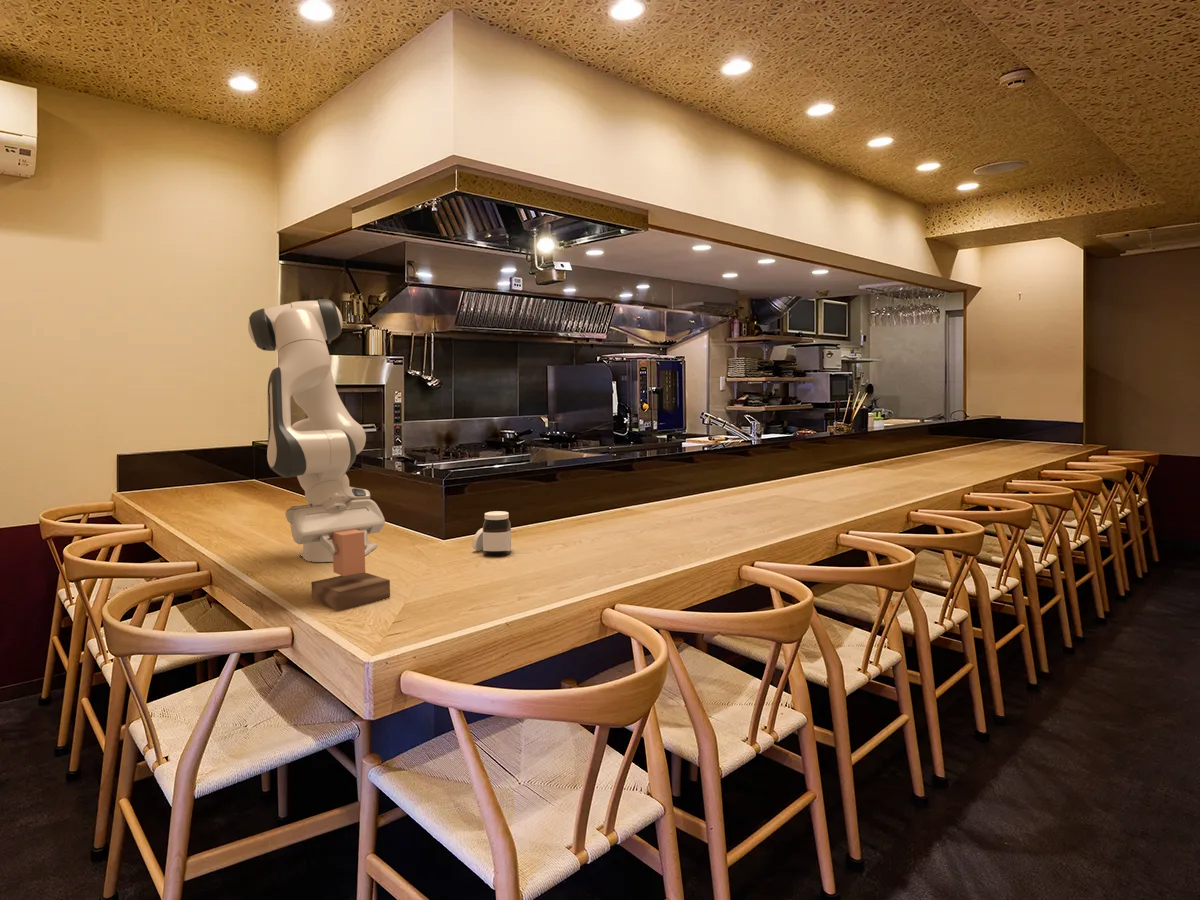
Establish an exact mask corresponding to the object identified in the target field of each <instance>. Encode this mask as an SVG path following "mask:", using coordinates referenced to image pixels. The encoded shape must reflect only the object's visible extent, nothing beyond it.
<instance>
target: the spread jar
mask: <svg viewBox="0 0 1200 900" xmlns="http://www.w3.org/2000/svg"><path fill="white" fill-rule="evenodd" d="M509 517H510V516H509V512H508V511H503V510H502V511H501V510H500V511H498V510H496V511H495V510H494V511H488V512H485V513H484V522H483V524H482V528H479V529H478V530H477V532H476V533H475V534H474V536H473V539H472V543H471V545H472V549H474V550H476V551H477V552H481V551H483V554H484V555H485V556H487V555H488V556H487V557H502V556H501V555H504V556H508V555H510V553H511V552H512V551H511V550H512V528H511V527H512V525H511V521H510V520H509ZM482 549H483V550H482ZM480 550H481V551H480ZM507 554H508V555H507Z"/></svg>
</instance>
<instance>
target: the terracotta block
mask: <svg viewBox="0 0 1200 900" xmlns="http://www.w3.org/2000/svg"><path fill="white" fill-rule="evenodd" d="M332 541H333V544H334V545H335V544H337V545H338V548H339V553H338V555H333V561H332V563H333V564H332V567H333V570H332V571H333V573H334V574H337V575H338V576H348V575H353V574H358V573H363V572H365V573H366V555H365V544H364V532H362V531H359V530H356V529H354V530H347V531H340V532H334V533H332Z"/></svg>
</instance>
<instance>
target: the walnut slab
mask: <svg viewBox="0 0 1200 900" xmlns="http://www.w3.org/2000/svg"><path fill="white" fill-rule="evenodd" d="M389 597H390V598H391V582H390V579H388V578H384V577H381V576H377V575H375V574H371V573H368V572H366V571H365V572H363V573H358V574H353V575H348V576H341V575H338V576H332V577H329V578H324V579H319V580H315V581H311V601H312V600H313V602H315V603H318V604H320V603H321V604H320V605H323V606H325V605H326V607H328V608H331V609H334V610H335V611H339V612H343V611H346V610H350V609H354V608H358V607H361V606H365V605H369V604H372V603H377V602H381V601H384V600H383V599H385V600H387V599H386V598H389ZM390 598H389V599H390ZM380 600H381V601H380ZM376 601H377V602H376Z"/></svg>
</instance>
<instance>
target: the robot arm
mask: <svg viewBox="0 0 1200 900" xmlns="http://www.w3.org/2000/svg"><path fill="white" fill-rule="evenodd" d="M343 322H344V321H343V316H342V313H341V311H340V309H339V307H337V305H336V304H335V302H334V301H333V300H332V299H323V298H319V299H317V300H301V301H299V300H298V301H293V302H292V301H291V302H290V303H286V304H280V305H276V306H271V307H267V308H260V309H258V310H257V309H256V310H254V311H253V312H252V313H251V314H250V315H249V317H248V324H247V325H248V326H247V329H248V334H249V337H250V339H251V340H252V341H253V343H254V344H255V345H256V347H257V348H258V349H260V350H262V351H267V352H275V351H276V352H277V356H278V366H277V367H276V368H274V369H272V370H271V371H270V375H269V376H268V382H267V424H268V426H267V427H268V433H267V435H268V438H267V450H266V451H267V452H266V453H267V454H266V458H267V459H266V460H267V462H268V463H267V464H268V466H269V468H270V470H271V471H273V472H275V473H276V474H277V475H279V476H281V477H282V478H286V479H287V478H291V477H292V478H294V477H297V480H298V482H299V485H300V487H301V489H302V490H304V495H305V496H304V497H305V500H306V502H307V504H303V505H293V506H290V507H289V508H288V509H287V510H285V513H284V514H285V517H286V520H287V522H288V523H289V524H290V530H291V531H290V532H291V535H292V538H293V541H294V542H295V543H297V545H302V551H300V552H299V556H300V555H302V556H303V557H302V559H303V558H304V559H305V560H304V559H303V560H304V561H306V560H307V561H306V562H311V561H312V562H311V563H313V562H315V563H329V562H332V563H333V555H338V553H339V548H338V545H337V544H335V545H334V544H333V541H332V533H334V532H340V531H347V530H354V529H356V530H359V531H362V532H364V544H365V556H366V555H368V554H369V553H370V552H372V551H373V550H375V549H376V548H377V547H378V546H377V543H376V542H371V541H370V542H369V535H370V534H372V535H373V534H377V533H380V532H381V531H382V529H383V528H384V526H385V524H386V520H385V519H386V518H385V517H384V514H383V512H382V510H381V509H380V507H379V506H378V504H377V503H376V501H374V500H372V499H371V492H370V491H369V490H368V489H366V488H365V489H364V488H358V487H354V486H350V479H349V477H348V475H347V472H348V471H349V470H350V469H351V467H352V465H353V464H354V463H355V462H356V458H357V455H358V454H360V453H361V452H362V451H363V449H364V448H365V446H366V441H367V436H366V431H365V429H364V428H363V426H362V425H361V424H360V423H358V422H357V421H356V420H355V419H354V418H353V417H352V416H351V414H350V413H349V411H348V409H347V408H346V407H345V405H344V403H343V401H342V399H341V396H340V395H339V393H338V390H337V387H336V383H335V379H334V377H333V373H332V369H331V367H332V366H331V358H330V352H329V349H328V345H330V344H331V343H332V341H334V340H336V339H338V337H339V336H340V335H341V334H342V331H343V330H342V329H343V325H344V323H343ZM326 342H327V343H326ZM327 344H328V345H327ZM291 398H293V400H294V403H295V404H296V405H297V406H298V407H300V408H301V409H302V410H303V411H304V413H305V414H306V416H307V418H304V419H301V420H299V421H296V422H294V423H293V424H292V420H291V419H292V418H291V416H292V414H291Z"/></svg>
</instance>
